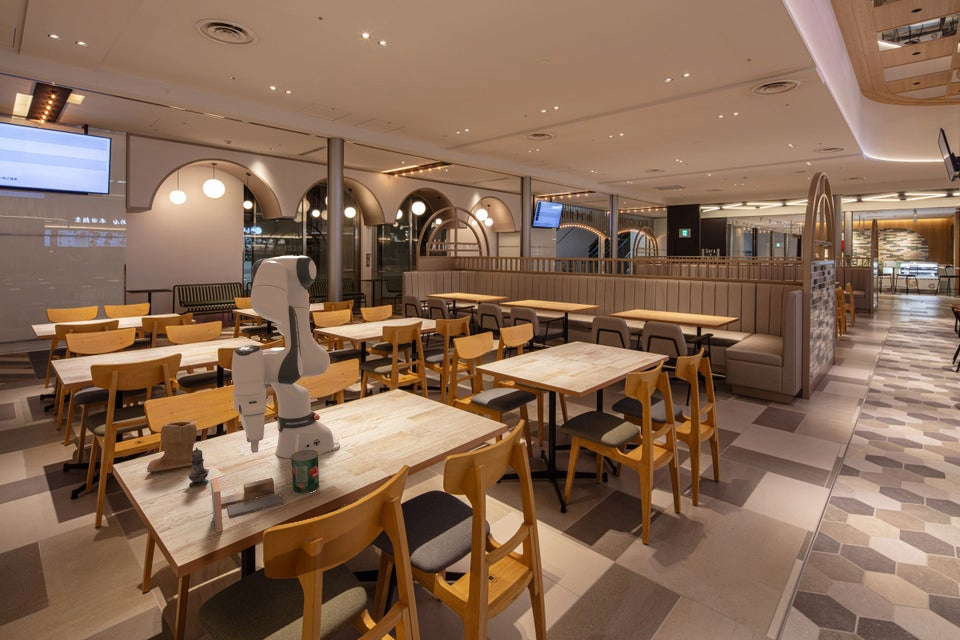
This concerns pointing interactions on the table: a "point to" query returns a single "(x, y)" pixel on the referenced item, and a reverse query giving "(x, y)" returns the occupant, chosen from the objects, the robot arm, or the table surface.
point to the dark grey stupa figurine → (198, 470)
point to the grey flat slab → (254, 505)
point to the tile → (216, 504)
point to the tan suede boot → (175, 446)
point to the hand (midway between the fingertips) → (252, 446)
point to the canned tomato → (305, 471)
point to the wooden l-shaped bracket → (250, 492)
